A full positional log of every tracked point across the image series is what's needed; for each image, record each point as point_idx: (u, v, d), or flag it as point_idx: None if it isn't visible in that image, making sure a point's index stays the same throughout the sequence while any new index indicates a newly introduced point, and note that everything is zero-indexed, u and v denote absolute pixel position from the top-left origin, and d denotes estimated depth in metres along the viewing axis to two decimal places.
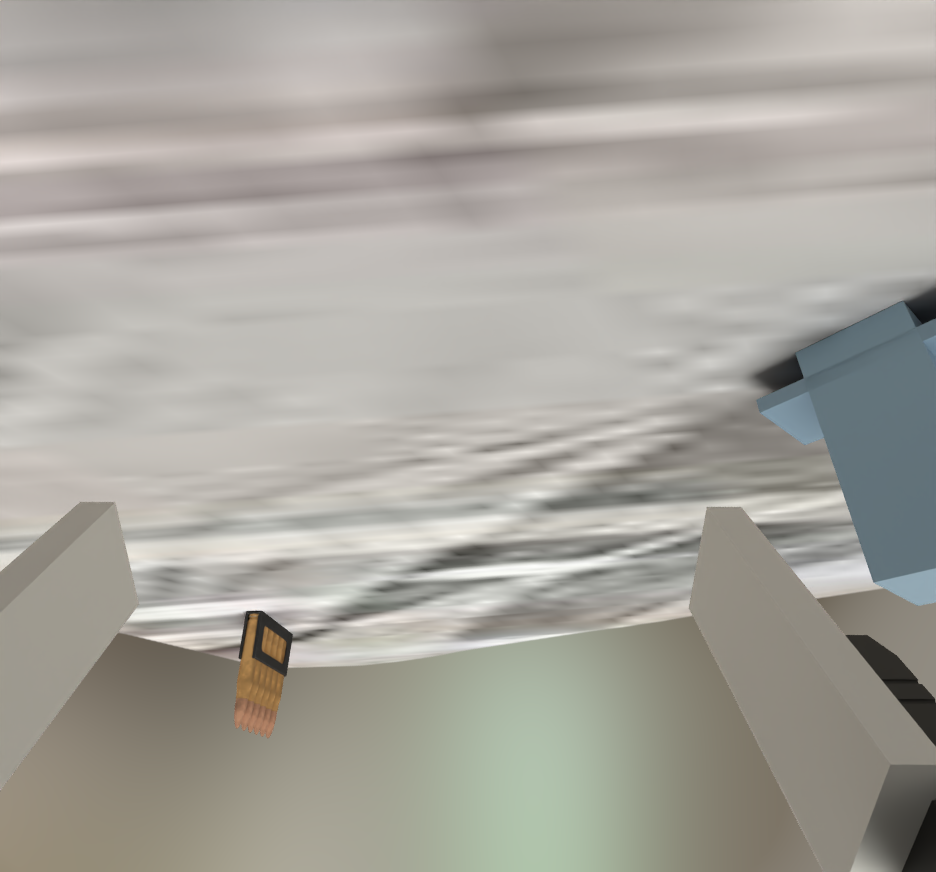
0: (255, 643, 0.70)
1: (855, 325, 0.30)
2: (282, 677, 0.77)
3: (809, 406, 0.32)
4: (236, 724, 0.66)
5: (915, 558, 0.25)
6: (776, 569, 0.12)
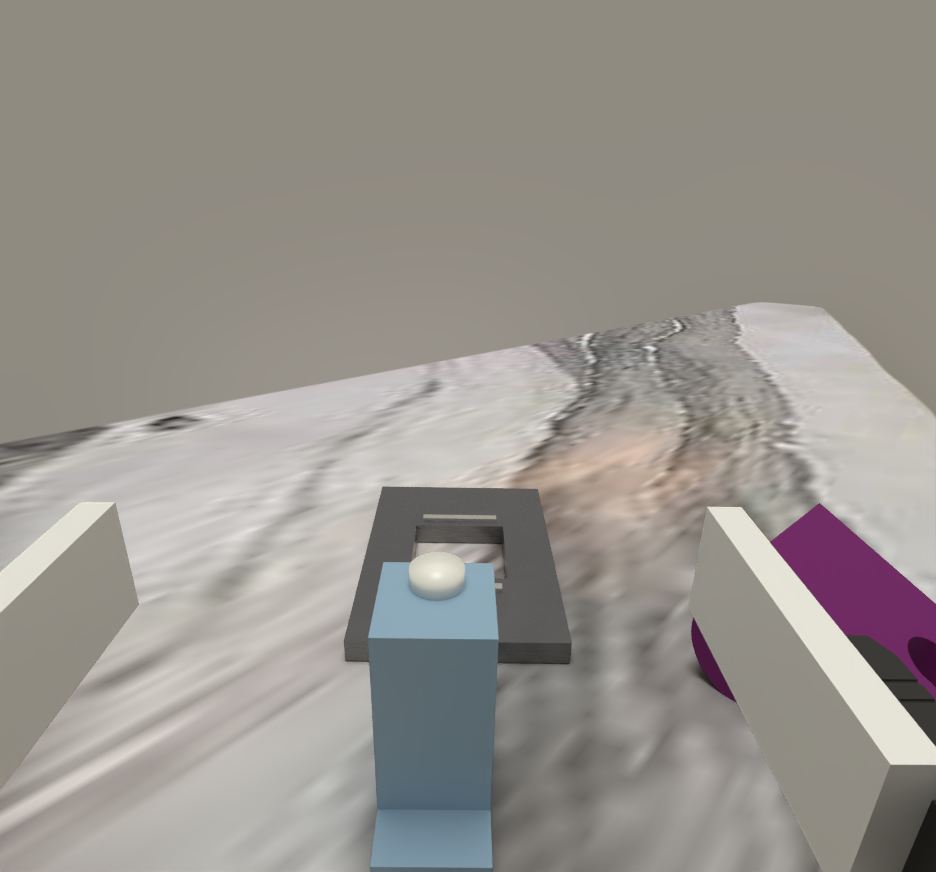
0: None
1: None
2: None
3: (407, 821, 0.28)
4: None
5: None
6: (776, 569, 0.12)
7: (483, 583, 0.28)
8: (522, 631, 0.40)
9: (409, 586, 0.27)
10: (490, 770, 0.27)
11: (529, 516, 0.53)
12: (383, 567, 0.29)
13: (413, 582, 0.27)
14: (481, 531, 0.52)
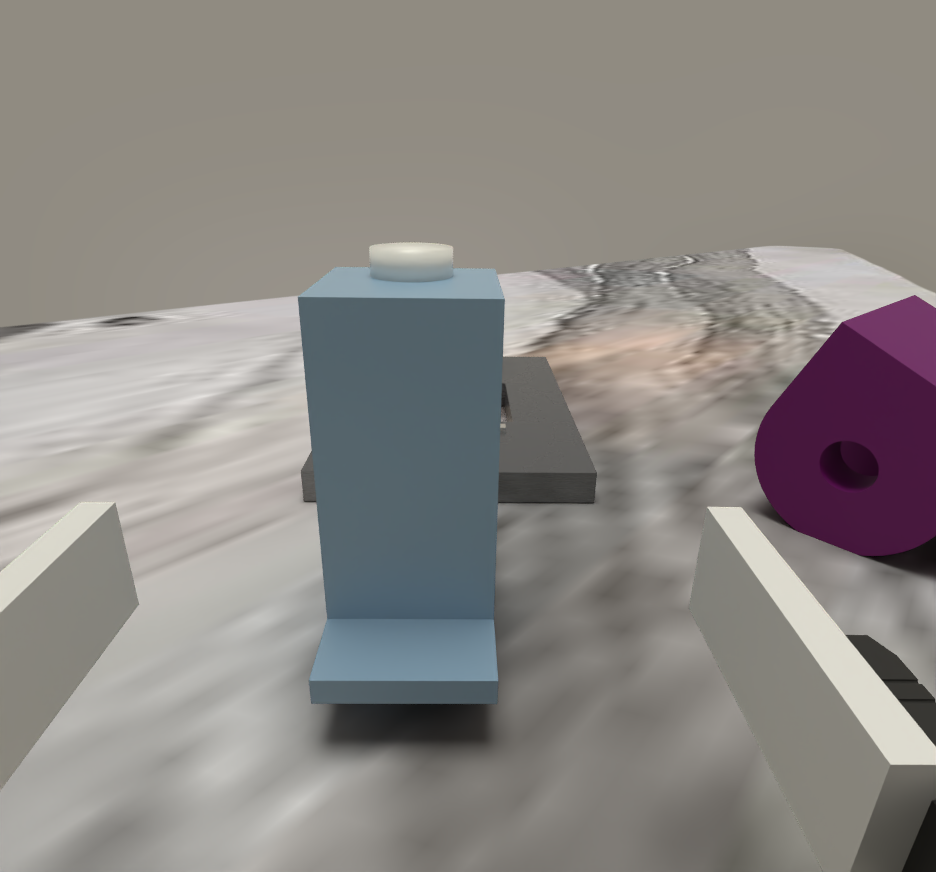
0: None
1: None
2: None
3: (369, 631, 0.19)
4: None
5: None
6: (776, 569, 0.12)
7: (480, 276, 0.19)
8: (533, 463, 0.31)
9: (370, 275, 0.18)
10: (493, 548, 0.18)
11: (537, 376, 0.44)
12: (334, 269, 0.20)
13: (375, 259, 0.18)
14: None
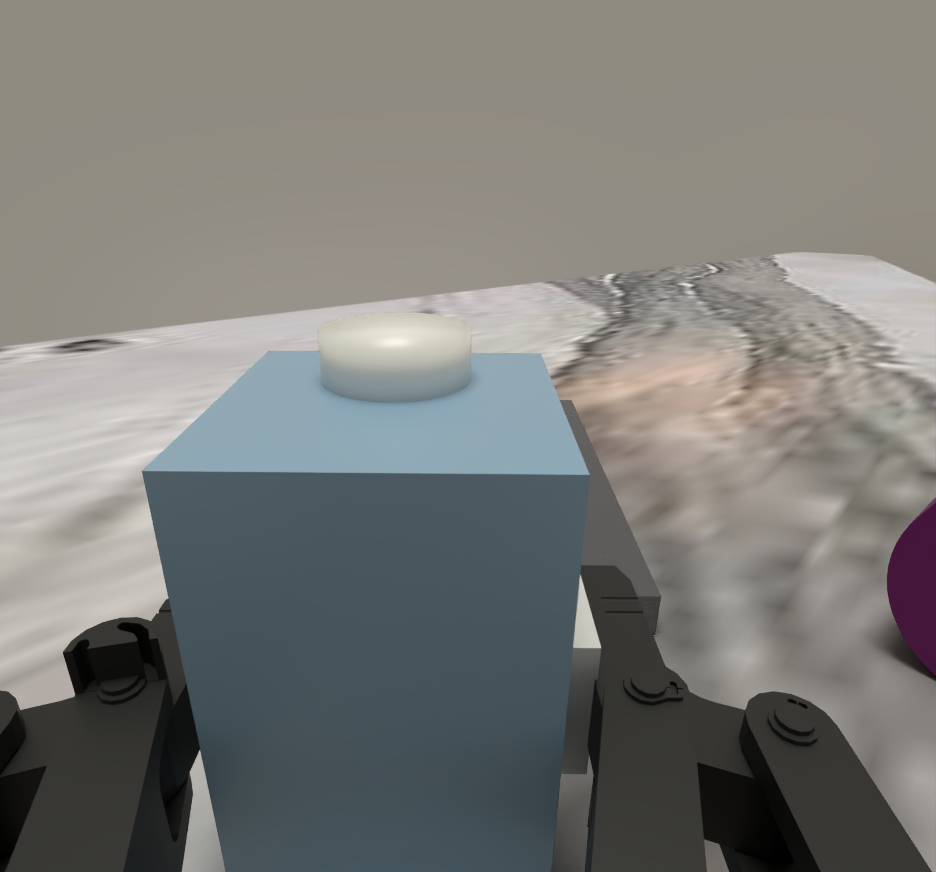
0: None
1: None
2: None
3: None
4: None
5: None
6: None
7: (521, 378, 0.10)
8: None
9: (321, 380, 0.10)
10: None
11: None
12: (265, 357, 0.11)
13: (326, 356, 0.09)
14: None
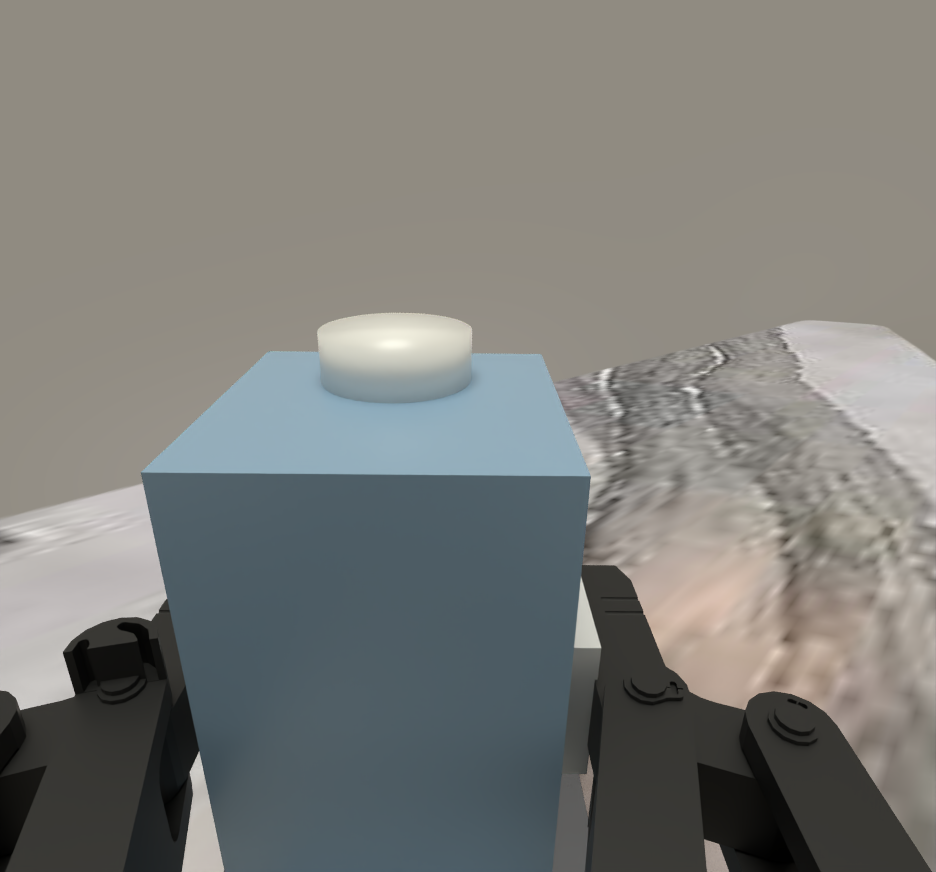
0: None
1: None
2: None
3: None
4: None
5: None
6: None
7: (521, 379, 0.10)
8: None
9: (321, 380, 0.10)
10: None
11: (559, 825, 0.26)
12: (265, 357, 0.11)
13: (326, 357, 0.09)
14: None
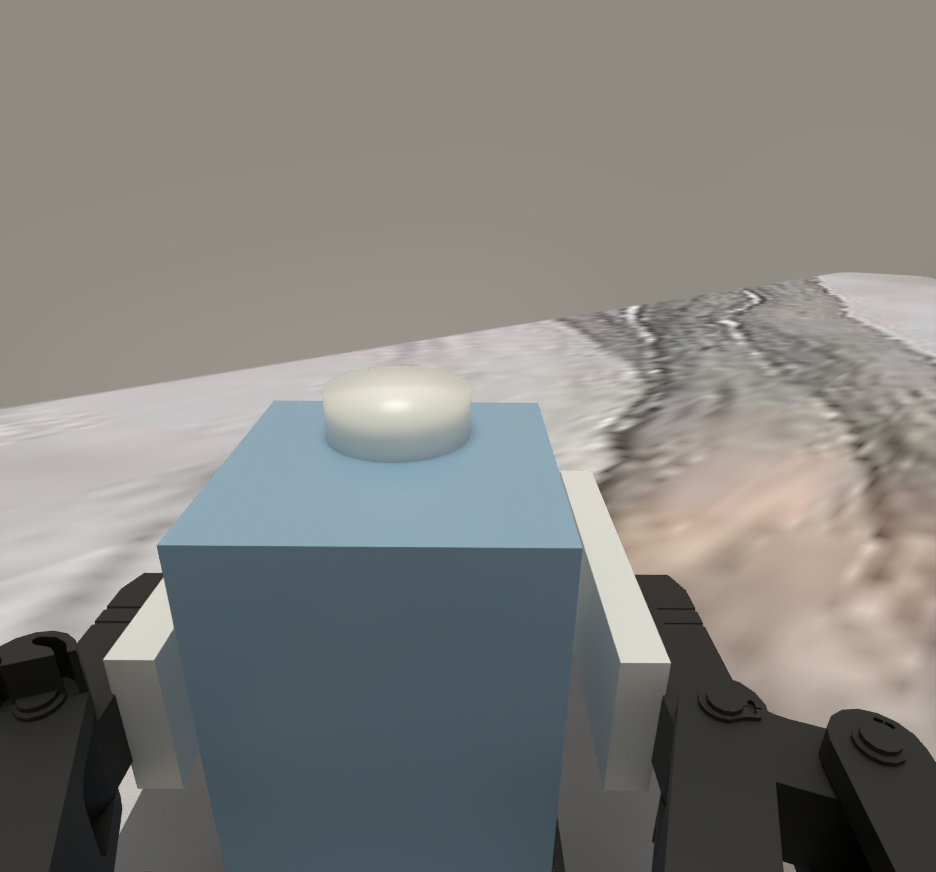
0: None
1: None
2: None
3: None
4: None
5: None
6: (597, 520, 0.13)
7: (518, 433, 0.11)
8: None
9: (325, 436, 0.10)
10: None
11: None
12: (270, 408, 0.12)
13: (330, 417, 0.10)
14: None
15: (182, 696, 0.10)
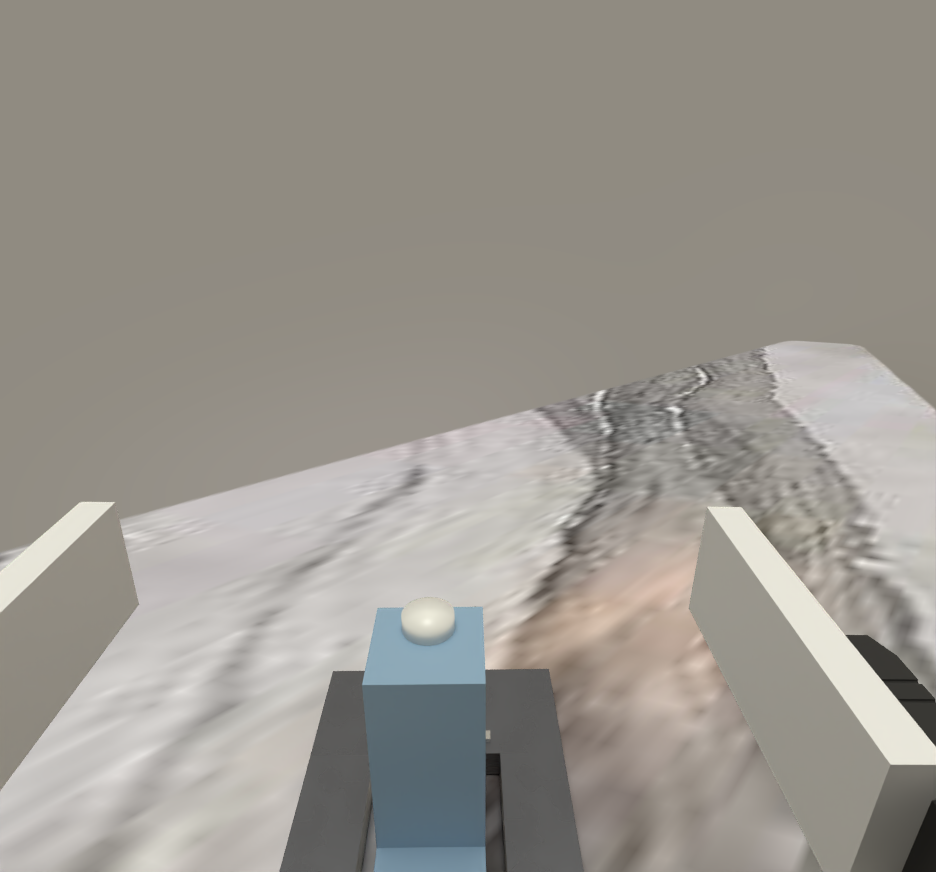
0: None
1: None
2: None
3: (405, 859, 0.29)
4: None
5: None
6: (776, 569, 0.12)
7: (472, 627, 0.29)
8: None
9: (402, 632, 0.29)
10: (483, 808, 0.28)
11: (538, 729, 0.37)
12: (377, 613, 0.30)
13: (405, 628, 0.28)
14: None
15: None
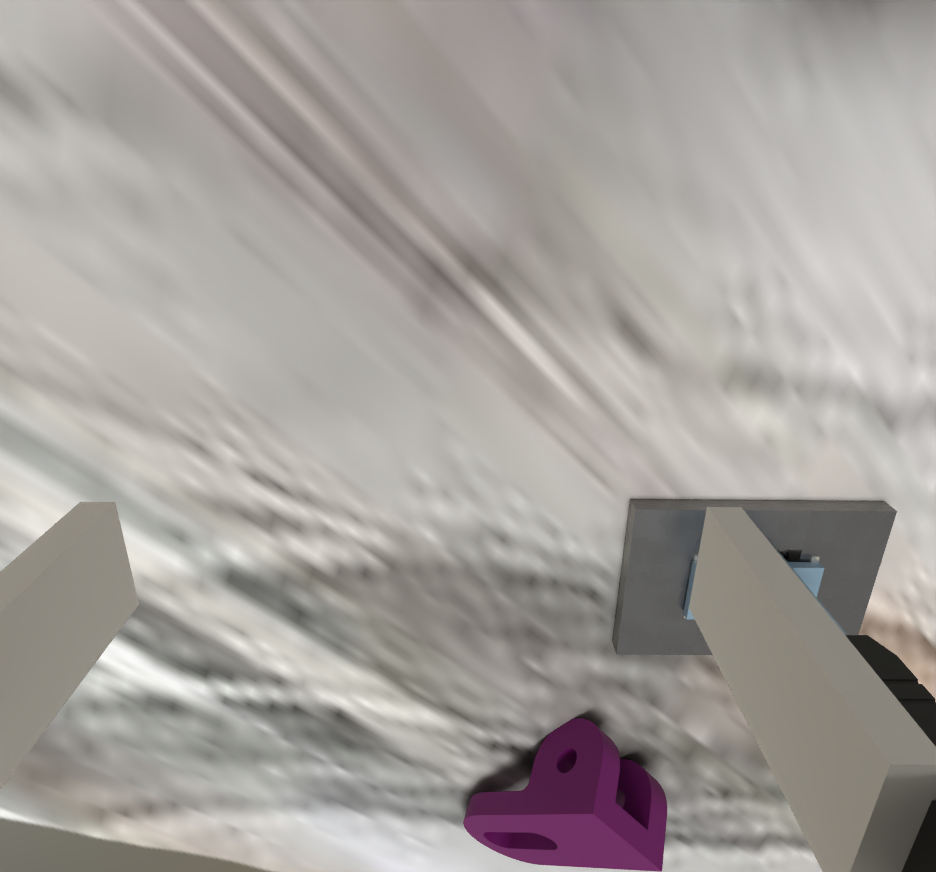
0: None
1: None
2: None
3: None
4: None
5: None
6: (776, 569, 0.12)
7: None
8: (631, 626, 0.53)
9: None
10: None
11: None
12: None
13: None
14: None
15: None
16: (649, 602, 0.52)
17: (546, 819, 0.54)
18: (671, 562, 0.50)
